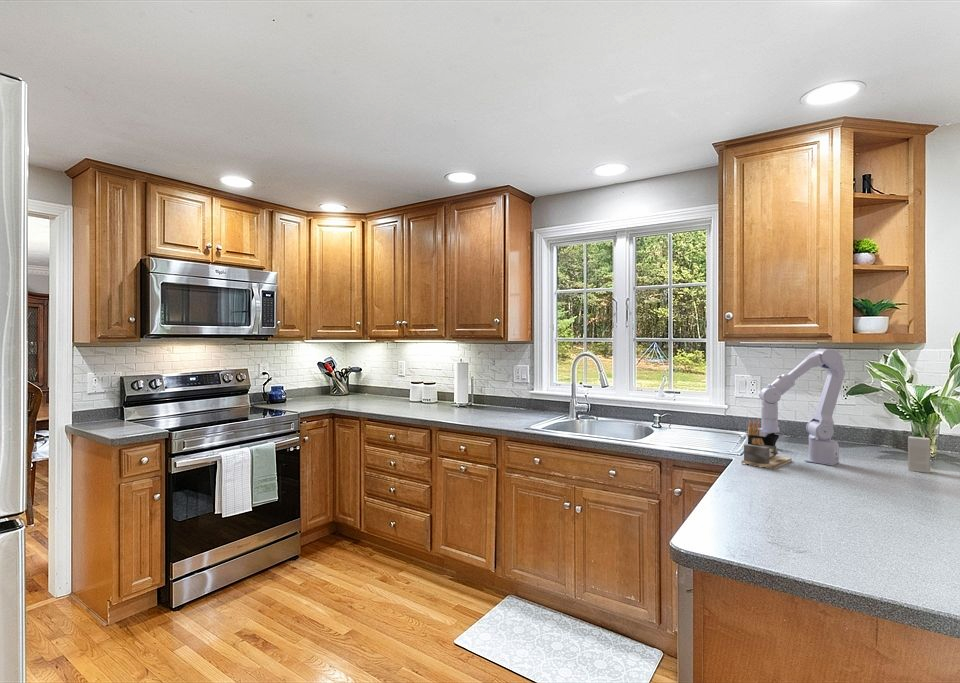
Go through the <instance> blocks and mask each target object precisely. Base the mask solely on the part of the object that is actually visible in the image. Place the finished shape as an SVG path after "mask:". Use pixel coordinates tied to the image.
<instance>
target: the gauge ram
mask: <svg viewBox="0 0 960 683" xmlns="http://www.w3.org/2000/svg"><path fill="white" fill-rule="evenodd" d="M759 446H765V447H769V457H771V456H773V455H774V456H777V455H779V452H777V446H776V445H775V446H769V445H762V444H759Z"/></svg>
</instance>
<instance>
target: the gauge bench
mask: <svg viewBox="0 0 960 683" xmlns="http://www.w3.org/2000/svg"><path fill="white" fill-rule="evenodd" d="M792 460H793V459H792V457H787V456H781V455H776V456H774V455H773V456H771V457H769V447H765V446H758V445H751V444H748V443H746V444H743V460H741V464H742V463H745V464H750V465H755V466H754V467H756V466H761V467H760V468H762V467H766V468H765V469H767V468H770V469H769V470H774V468H775V469H776V467H777V468H779V467H781V465H782V466H784V465H787V464H789V463H791V462H792ZM788 462H789V463H788ZM745 464H744V465H745ZM750 465H749V466H750Z"/></svg>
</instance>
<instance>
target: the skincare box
mask: <svg viewBox="0 0 960 683" xmlns="http://www.w3.org/2000/svg"><path fill="white" fill-rule="evenodd" d="M907 463H908V464H907V466H908V468H907V469H908V472H909V471H911V472H918V473H926V474H930V473H931V438H930V437H920V436H910V435H908V437H907Z"/></svg>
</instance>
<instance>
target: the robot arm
mask: <svg viewBox="0 0 960 683" xmlns="http://www.w3.org/2000/svg"><path fill="white" fill-rule="evenodd" d="M817 367H821V368H822V369H823V370H824V371H825V373H826V374H827V376H826V378H825V381H824V384H823V388H822V390H821V391H822V392H821V394H820V398H819V401H818V404H817V408H816V411H815V413H814V414H812V416H811V419H810V420H809V421H808V422H807V424H806V425H805V426H806V427H805V430H806V432H807V433H808V458H806V459H805V460H804V461H805V462H808V463H815V464H821V465H826V466H827V465H829V466H835V465H837V464H839V463H840V458H839V456H840V455H839V453H840V452H839V451H840V450H839V449H840V445H839V442H838V441H836V440H832V438H833V436H834V435H835V430H834V424H835V422H834V419H833V414H834V411H835V409H836V404H837V401H838V398H839V394H840V391H841V389H842V385H843V381H844V377H845V375H846V370H845V367H844V362H843V355H841V353H840V352H839V351H838V350H837V349H834V348H823V347H822V348H821V347H820V348H816V349H815V350H814V351H813V352H811V353H809V354H808V355H807V356H806V357H805V358H804V359H802V361H801V362H800V363H798V364H797V366H795V367H794V368H793V369H792V370H791V371H790V372H789V373H785V374H784V373H783V374H781V375H780V374H778V376H776V379H775V380H774V381H773V382H772V383H768V384H767V387H764V388H762V389H761V390H760V392H759V394H758V397H759V399H760V400H761V406H760V407H761V413H760V414H761V415H760V416H761V420H760V425H761V428H758V430H761V431H760V437H761V438H762V440H763V442H764V445H769V446H776V444H777V441H778V439H779V437H780V434H778V433H780V427H779V405H778V404H779V402H780V400H781V398H782V396H783V395H785V393H787V392H788V391H789V390H790V389H792V388H793V387H794V386H795V385H796V380H797V379H798V378H800V377H801V376H803V375H804V374H806V373H807V372H808V371H809V370H810V369H812V368H817Z"/></svg>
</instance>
